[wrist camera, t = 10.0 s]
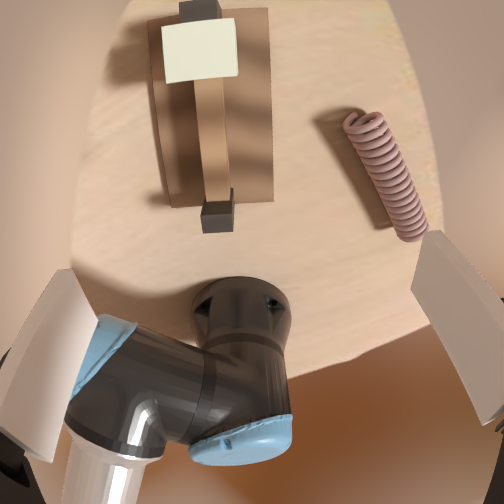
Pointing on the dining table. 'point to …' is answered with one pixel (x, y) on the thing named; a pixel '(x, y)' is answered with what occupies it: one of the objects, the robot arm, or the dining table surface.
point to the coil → (388, 174)
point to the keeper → (200, 50)
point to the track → (238, 115)
